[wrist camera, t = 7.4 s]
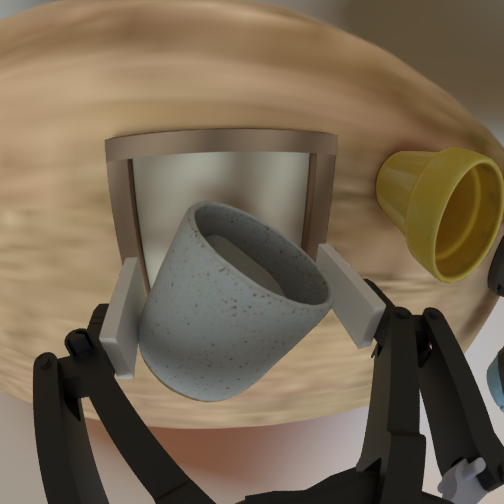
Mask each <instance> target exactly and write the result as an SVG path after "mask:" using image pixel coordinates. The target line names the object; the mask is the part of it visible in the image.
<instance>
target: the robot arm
mask: <svg viewBox="0 0 504 504" xmlns="http://www.w3.org/2000/svg"><path fill="white" fill-rule="evenodd" d="M316 264H317V265H318V266H319V267H320V269H321V270H322V271H323V272H324V273H325V275H326V276H327V278H328V280H329V282H330V284H331V285H332V288H333V291H334V298H335V301H334V304H333V306H332V307H331V308H332V309H333V311H334V312H335V314H336V315H337V317H338V318H339V320H340V321H341V323H342V324H343V326H344V327H345V329H346V330H347V332H348V333H349V335H350V337H351V338H352V340H353V341H354V343H355V344H356V346H357V347H358V349H360V348H364V347H368V346H370V345H371V343H372V341H373V338H375V340H376V341H377V344H376V346H375V349H374V351H373V353H372V355H371V358H373V356H374V355H375V358H374V370H373V381H372V390H371V398H370V406H369V413H368V420H367V426H366V432H365V438H364V444H363V448H362V453H361V457H360V459H359V461H358V463H357V465H356V467H354V468H351V469H348V470H346V471H343V472H340V473H337V474H334V475H331V476H329V477H328V478H326V479H324V480H323V481H321V482H320V483H317V484H316V485H314V486H312V487H310V488H309V489H307V490H300V491H272V492H267V493H261V494H255V495H249V496H245V500H243V501H240V502H238V503H236V504H477V503H478V502H479V501H480V500H481V499H482V498H483V497H484V496H485V495H486V494H487V493H489V492H491V491H493V490H495V489H496V488H498V487H500V486H502V485H503V484H504V446H503V445H502V443H501V442H500V440H499V439H498V437H497V435H496V434H495V433H494V430H493V427H492V424H491V421H490V418H489V415H488V412H487V409H486V406H485V404H484V401H483V398H482V396H481V393H480V391H479V388H478V386H477V384H476V381H475V379H474V376H473V374H472V372H471V369H470V367H469V365H468V363H467V361H466V359H465V356H464V354H463V352H462V350H461V348H460V346H459V344H458V342H457V340H456V338H455V336H454V334H453V332H452V330H451V328H450V327H449V325H448V323H447V321H446V319H445V317H444V316H443V314H442V313H441V312H440V311H439V310H438V309H435V308H431V307H429V308H426V309H424V312H423V314H422V315H412V313H411V312H410V311H409V310H407V309H406V308H403V307H395V305H394V304H393V303H392V302H391V301H390V300H389V299H388V298H387V297H386V295H385V294H384V293H383V292H382V291H381V290H380V289H379V288H378V287H377V286H376V285H375V284H374V283H373V282H372V281H370V280H368V279H362V278H361V277H360V275H359V274H358V273H357V272H356V271H355V270H354V269H353V268H352V267H351V266H350V265H349V264H348V263H347V261H346V260H345V259H344V258H343V257H342V256H341V255H340V254H339V253H338V252H337V251H336V250H335V249H334V248H333V247H332V246H331V245H330V244H329V243H327V244H319V245H318V252H317V258H316ZM488 286H489V288H490V289H491V290H492V291H493V292H494V293H495V294H497V295H499V296H502V297H504V238H503V240H502V242H501V244H500V246H499V248H498V250H497V252H496V255H495V257H494V260H493V263H492V266H491V269H490V273H489V278H488ZM145 297H146V293H145V289H144V284H143V280H142V275H141V270H140V265H139V260H138V257H132V258H126V259H125V262H124V264H123V267H122V270H121V272H120V275H119V278H118V280H117V283H116V286H115V289H114V292H113V295H112V298H111V301H110V303H109V304H99V305H98V306H97V307H96V308H95V310H94V311H93V314H92V317H91V319H90V322H89V325H88V328H87V329H81V328H79V329H76V330H73V331H72V332H70V333H69V334H68V335H67V336H66V338H65V341H64V342H65V346H66V348H67V350H68V352H69V354H70V356H67V357H63V358H59V359H57V357H56V356H55V355H54V354H53V353H50V352H45V353H43V354H41V355H39V356H38V357H37V358H36V360H35V361H34V366H33V410H34V426H35V437H36V445H37V453H38V459H39V465H40V471H41V476H42V481H43V485H44V490H45V494H46V498H47V501H48V504H109V502H108V499H107V496H106V494H105V491H104V488H103V485H102V482H101V479H100V476H99V473H98V471H97V467H96V464H95V461H94V457H93V453H92V449H91V446H90V441H89V437H88V433H87V429H86V424H85V419H84V414H83V408H82V403H81V398H84V397H88V396H89V398H90V400H91V402H92V404H93V406H94V408H95V410H96V412H97V414H98V416H99V418H100V419H101V421H102V423H103V425H104V427H105V428H106V430H107V432H108V434H109V435H110V437H111V439H112V440H113V442H114V444H115V445H116V447H117V448H118V450H119V451H120V453H121V455H122V456H123V458H124V459H125V461H126V462H127V463H128V465H129V466H130V468H131V469H132V471H133V472H134V473H135V475H136V476H137V478H138V479H139V480H140V482H141V483H142V484H143V486H144V487H145V488H146V489H147V491H148V492H149V493H150V494H151V496H152V497H153V499H154V501H155V503H156V504H216V503H215V502H214V501H213V500H212V499H210V497H209V496H208V495H207V494H205V493H204V492H203V491H202V490H201V489H200V488H199V487H198V486H197V485H196V484H195V483H194V482H193V481H192V480H191V479H190V478H189V477H188V476H187V475H186V474H185V473H184V472H183V470H182V469H181V468H180V467H179V466H178V465H177V464H176V463H175V461H174V460H173V459H172V458H171V457H170V456H169V455H168V453H167V452H166V451H165V450H164V449H163V447H162V446H161V445H160V443H159V442H158V441H157V440H156V438H155V437H154V436H153V434H152V433H151V432H150V430H149V429H148V428H147V426H146V425H145V424H144V422H143V421H142V419H141V418H140V417H139V415H138V414H137V412H136V411H135V409H134V408H133V406H132V405H131V403H130V402H129V400H128V399H127V397H126V396H125V394H124V393H123V391H122V389H121V388H120V386H119V385H118V383H117V381H116V380H115V378H114V375H115V373H116V375H117V377H118V379H134V372H135V363H136V355H137V347H138V330H139V324H140V317H141V313H142V310H143V307H144V303H145ZM430 345H431V346H432V350H431V348H430ZM487 384H488V387H489V390H490V393H491V395H492V397H493V399H494V401H495V402H496V404H497V406H499V407H500V409H501V411H502V412H504V347H503V348H502V349H501V350H500V351H499V352H498V354H497V356H496V358H495V359H494V360H493V362H492V363H491V364H490V366H489V368H488V370H487ZM419 388H420V392H421V395H422V399H423V402H424V406H425V410H426V414H427V418H428V422H429V426H430V431H431V435H432V440H433V445H434V450H435V455H436V460H437V464H438V467H439V470H440V473H441V475H442V481H441V482H440V483H439V485H438V491H439V492H440V493H443V496H442V498H440V497H437V496H434V495H432V494H428V493H426V492H423V491H422V485H423V477H424V468H425V455H426V437H425V436H424V435H422V434H420V432H419V423H420V422H419V421H420V394H419Z"/></svg>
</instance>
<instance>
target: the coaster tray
mask: <svg viewBox="0 0 504 504" xmlns="http://www.w3.org/2000/svg"><path fill="white" fill-rule="evenodd" d="M337 136H338V135H334V134H329V133H323V132H313V131H300V130H285V129H260V128H216V129H191V130H176V131H163V132H153V133H144V134H135V135H128V136H120V137H114V138H110V139H107V140H105V151H106V163H107V173H108V182H109V190H110V198H111V205H112V212H113V218H114V224H115V230H116V235H117V241H118V246H119V251H120V255H121V260H122V265H123V264H124V262H125V259H126V258H132V257H138V260H139V265H140V270H141V275H142V280H143V284H144V289H145V293H146V297H145V302H146V300H147V298H148V295H149V293H150V291H151V289H152V286H153V284H154V282H155V279H156V277H157V274H158V271H159V269H160V267H161V264H162V262H163V260H164V258H165V256H166V254H167V252H168V249H169V247H170V245H171V243H172V241H173V239H174V237H175V234H176V232H177V230H178V228H179V225H180V223H181V221H182V219H183V217H184V215H185V213H186V212H187V210H188V208H190V207H191V206H192V205H194V204H195V203H198V202H203V201H210V202H218V203H221V204H226V205H229V206H232V207H234V208H237V209H240V210H242V211H244V212H246V213H248V214H250V215H252V216H255V217H256V218H258V219H260V220H261V221H263V222H264V223H266V224H268V225H269V226H271V227H273V228H275V229H277V230H278V231H279V232H281V233H282V234H283V235H285V236H286V237H287V238H289V239H290V240H291V241H293V242H294V243H295V244H296V245H297V246H298V247H300V248H301V249H302V250H303V251H304V252H305V253H306V254H307V255H308V256H309V257H310V258H311V259H312V260H313V261H314V262H315V263H316V258H317V252H318V245H319V244H325V242H326V235H327V228H328V221H329V214H330V206H331V198H332V189H333V180H334V171H335V160H336V149H337ZM144 305H145V303H144Z"/></svg>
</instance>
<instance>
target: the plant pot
mask: <svg viewBox="0 0 504 504" xmlns="http://www.w3.org/2000/svg"><path fill="white" fill-rule="evenodd" d="M376 196H377V200H378V203H379V205H380V207H381V208H382V209H383V211H384V212H385V213H386V214H387V215H388V216H389V218H390V219H391V220H392V221H393V222H394V223H395V225H396V226H397V227H398V228H399V229H400V231H401V232H402V233H403V234H404V236H405V237H406V242H407V245H408V248H409V250H410V252H411V254H412V255H413V257H414V258H415V259H416V260H417V261H418V262H419V263H420V264H421V265H422V266H423V267H424V268H425V269H426V270H427V271H429V272H430V273H431V274H432V275H433V276H434V277H435V278H437V279H438V280H439V281H441V282H444V283H454V282H457V281H459V280H461V279H463V278H465V277H466V276H468V275H469V274H470V273H471V272H472V271H473V270H475V268H476V267H477V266H478V265H479V264H480V263H481V262H482V260H483V259H484V257H485V256H486V255H487V253H488V251H489V250H490V248H491V246H492V244H493V242H494V240H495V238H496V235H497V233H498V230H499V227H500V224H501V220H502V216H503V211H504V180H503V176H502V173H501V171H500V169H499V167H498V165H497V164H496V163H495V162H494V161H493V160H492V159H491V158H489V157H487V156H485V155H482V154H480V153H477V152H474V151H471V150H468V149H464V148H460V147H450V148H446V149H444V150H442V151H440V152H428V151H400V152H397V153H394V154H393V155H391V156H390V157H389V158H388V159H387V160H386V161H385V162H384V164H383V165H382V167H381V168H380V171H379V173H378V176H377V181H376Z"/></svg>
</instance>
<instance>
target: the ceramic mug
mask: <svg viewBox="0 0 504 504" xmlns="http://www.w3.org/2000/svg"><path fill="white" fill-rule="evenodd" d="M334 301H335V298H334V291H333V288H332V285H331V284H330V282H329V280H328V278H327V276H326V275H325V273H324V272H323V271H322V270H321V269H320V267H319V266H318V265H317V264H316V263H315V262H314V261H313V260H312V259H311V258H310V257H309V256H308V255H307V254H306V253H305V252H304V251H303V250H302V249H301V248H300V247H298V246H297V245H296V244H295V243H294V242H293V241H291V240H290V239H289V238H287V237H286V236H285V235H283V234H282V233H281V232H279V231H278V230H277V229H275V228H273V227H271V226H269V225H268V224H266V223H264V222H263V221H261V220H260V219H258V218H256V217H255V216H252V215H250V214H248V213H246V212H244V211H242V210H240V209H237V208H234V207H232V206H229V205H226V204H221V203H218V202H210V201H203V202H198V203H195V204H194V205H192V206H191V207H190V208H188V210H187V212H186V213H185V215H184V217H183V219H182V221H181V223H180V225H179V228H178V230H177V232H176V234H175V237H174V239H173V241H172V243H171V245H170V247H169V249H168V252H167V254H166V256H165V258H164V260H163V262H162V264H161V267H160V269H159V271H158V274H157V277H156V279H155V282H154V284H153V286H152V289H151V291H150V293H149V295H148V298H147V300H146V302H145V305H144V307H143V310H142V313H141V317H140V324H139V330H138V342H139V348H140V352H141V354H142V357H143V360H144V362H145V363H146V365H147V367H148V368H149V370H150V371H151V372H152V373H153V375H154V376H155V377H156V378H157V379H158V380H159V381H160V382H161V383H162V384H163V385H165V386H166V387H167V388H169V389H170V390H171V391H173V392H175V393H177V394H179V395H182V396H184V397H186V398H189V399H192V400H197V401H203V402H215V401H222V400H225V399H229V398H231V397H233V396H235V395H237V394H239V393H241V392H243V391H245V390H246V389H248V388H249V387H250V386H252V385H253V384H255V383H256V382H257V381H258V380H259V379H260V378H261V377H262V376H263V375H264V374H265V373H266V372H267V371H268V370H269V369H270V368H271V367H272V366H273V365H275V364H276V363H277V362H278V361H279V360H280V359H281V358H282V357H283V356H285V355H286V354H287V353H288V352H289V351H290V350H291V349H292V348H293V347H294V346H295V345H296V344H297V343H298V342H300V341H301V340H302V339H303V338H304V337H305V336H306V335H307V334H308V333H309V332H310V331H311V330H312V329H313V328H314V327H315V326H316V325H317V324H318V323H319V322H320V321H321V320H322V319H323V318H324V317H325V316H326V314H327V313H328V312H329V310H330V309H331V307H332V306H333V304H334Z"/></svg>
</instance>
